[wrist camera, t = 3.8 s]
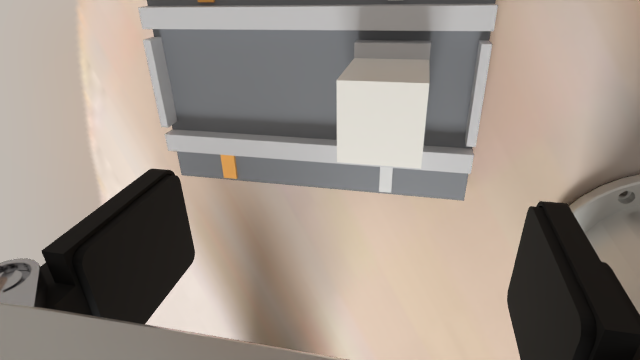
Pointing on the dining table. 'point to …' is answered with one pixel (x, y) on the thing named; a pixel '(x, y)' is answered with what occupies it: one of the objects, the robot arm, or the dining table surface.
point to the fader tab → (383, 103)
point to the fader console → (310, 87)
